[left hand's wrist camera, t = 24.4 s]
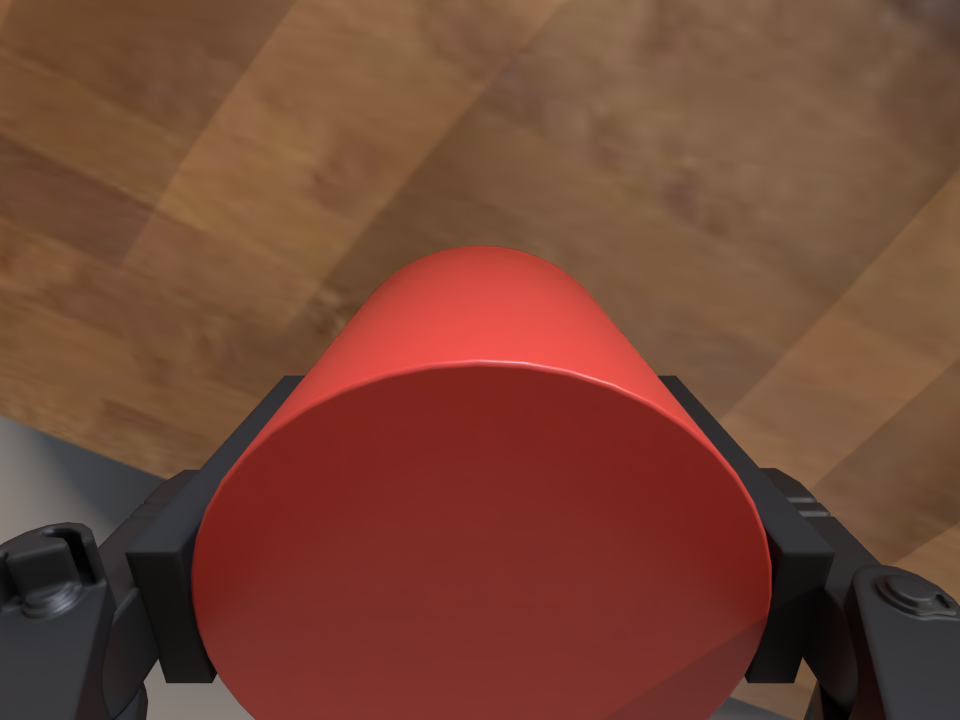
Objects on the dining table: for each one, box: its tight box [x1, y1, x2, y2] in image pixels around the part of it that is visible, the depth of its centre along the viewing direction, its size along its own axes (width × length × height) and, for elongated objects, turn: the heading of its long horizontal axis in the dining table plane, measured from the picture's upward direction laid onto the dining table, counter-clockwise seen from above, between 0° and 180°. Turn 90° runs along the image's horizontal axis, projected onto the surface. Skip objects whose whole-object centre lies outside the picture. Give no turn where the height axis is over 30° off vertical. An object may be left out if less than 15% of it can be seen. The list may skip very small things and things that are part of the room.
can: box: [191, 246, 772, 720], centre depth 12 cm, size 9×9×9 cm
